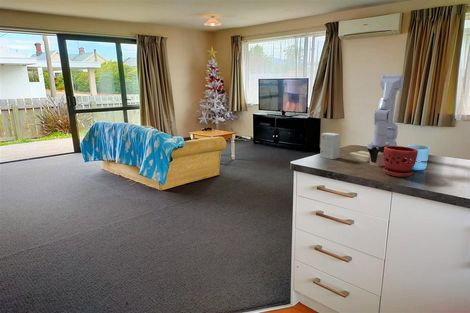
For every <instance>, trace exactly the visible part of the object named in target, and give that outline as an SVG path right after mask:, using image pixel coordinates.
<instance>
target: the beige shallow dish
mask: <svg viewBox="0 0 470 313" xmlns="http://www.w3.org/2000/svg"><path fill="white" fill-rule="evenodd" d="M347 156H348V157H347V158H348V159H352V160H357V161H359V162H364V163H367V162H370V154H369V151H364V150H359V151H354V152H353V151H352V152H348V155H347Z"/></svg>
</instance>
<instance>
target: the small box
mask: <svg viewBox="0 0 470 313" xmlns="http://www.w3.org/2000/svg"><path fill="white" fill-rule="evenodd" d="M320 140H321V141H320V154H319V156H320V158H324V159H329V160H330V159H331V160H334V159H339V158H340V149H341V148H340V146H341V133H334V132H323V133H321V136H320Z"/></svg>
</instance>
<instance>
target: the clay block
mask: <svg viewBox="0 0 470 313" xmlns="http://www.w3.org/2000/svg"><path fill="white" fill-rule="evenodd" d="M383 154H384V153H381V152H379V153H378V155H377V159H376V163H373V162H371V158H370V161H369V163H368V164H369V165H372V166H375V167H383V166H385V165H384V160H383Z"/></svg>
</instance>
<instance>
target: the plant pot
mask: <svg viewBox="0 0 470 313" xmlns="http://www.w3.org/2000/svg"><path fill="white" fill-rule="evenodd" d="M418 152H419V150H418V149H416V148H413V147H410V146H409V147H408V146H403V145H401V146H400V145H397V146H385V147H384V154H383V160H384V165H383V166H384V167H383V169H382V170H383V172H384V173H385V174H387V175H389V176H392V177H399V178H403V177H409V176H411V175H412V174H413V171H412V169H413V168H414V166H415V164H416V162H417V157H418Z"/></svg>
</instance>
